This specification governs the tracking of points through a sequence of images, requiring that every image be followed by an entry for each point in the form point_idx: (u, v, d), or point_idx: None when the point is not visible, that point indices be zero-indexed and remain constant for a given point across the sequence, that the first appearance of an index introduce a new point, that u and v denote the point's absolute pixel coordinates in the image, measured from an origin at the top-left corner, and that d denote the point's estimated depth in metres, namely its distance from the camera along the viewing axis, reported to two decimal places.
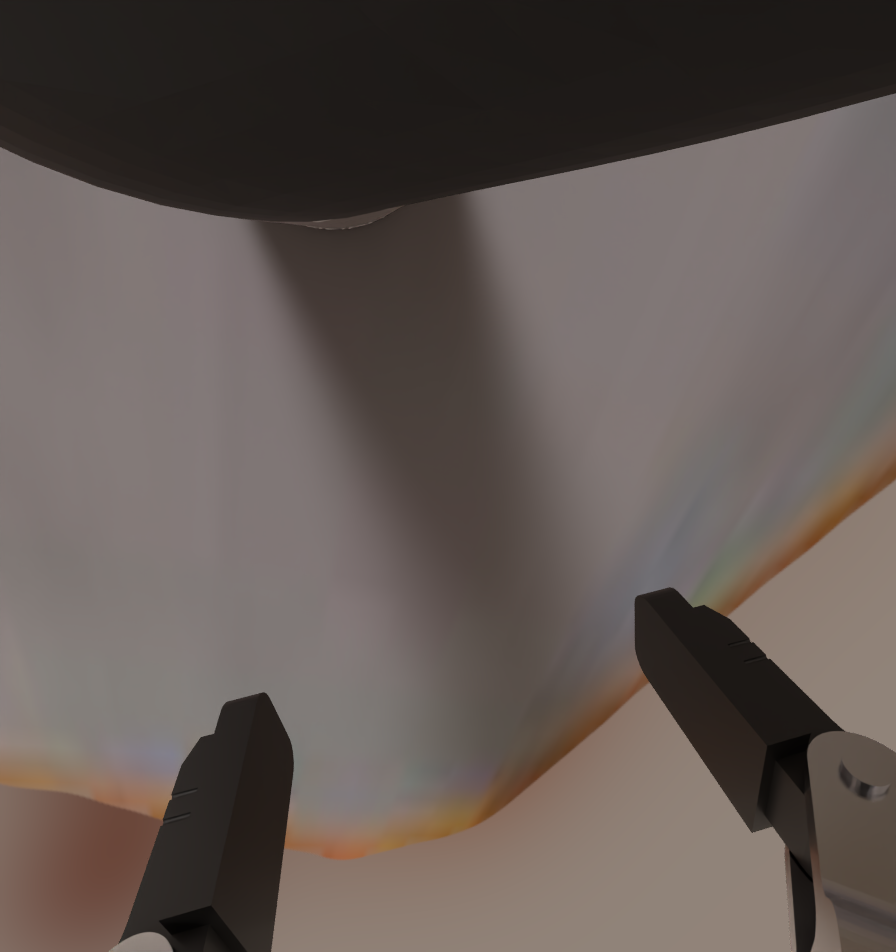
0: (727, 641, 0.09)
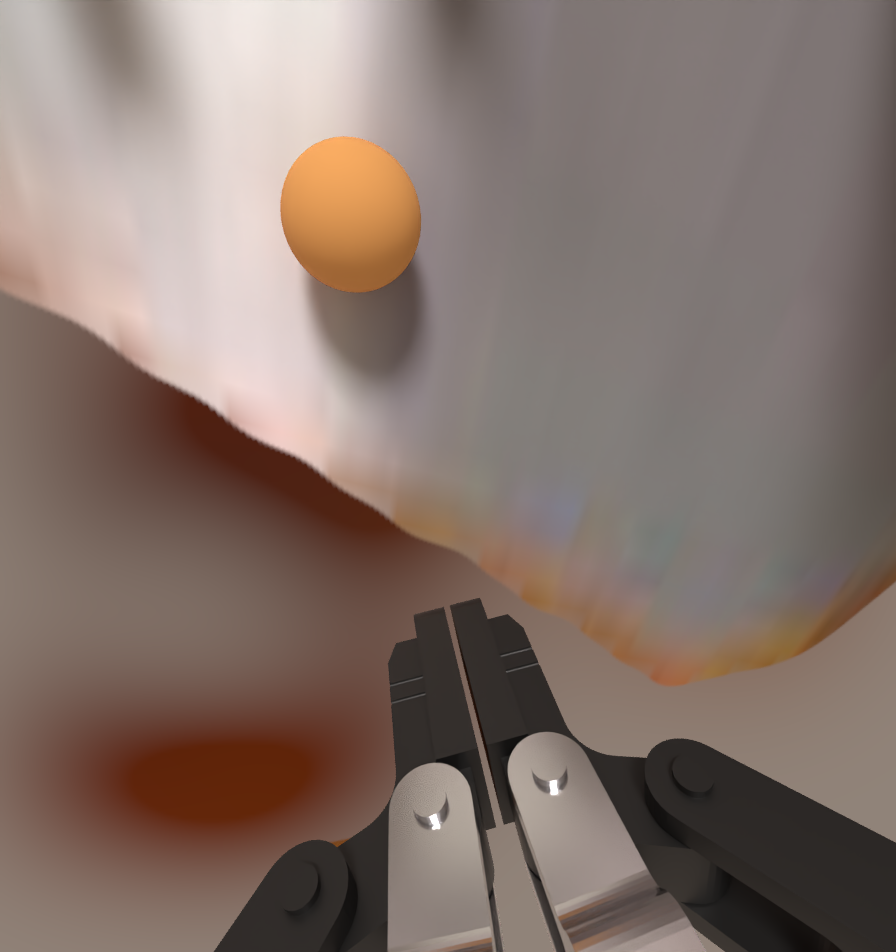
0: (511, 648, 0.10)
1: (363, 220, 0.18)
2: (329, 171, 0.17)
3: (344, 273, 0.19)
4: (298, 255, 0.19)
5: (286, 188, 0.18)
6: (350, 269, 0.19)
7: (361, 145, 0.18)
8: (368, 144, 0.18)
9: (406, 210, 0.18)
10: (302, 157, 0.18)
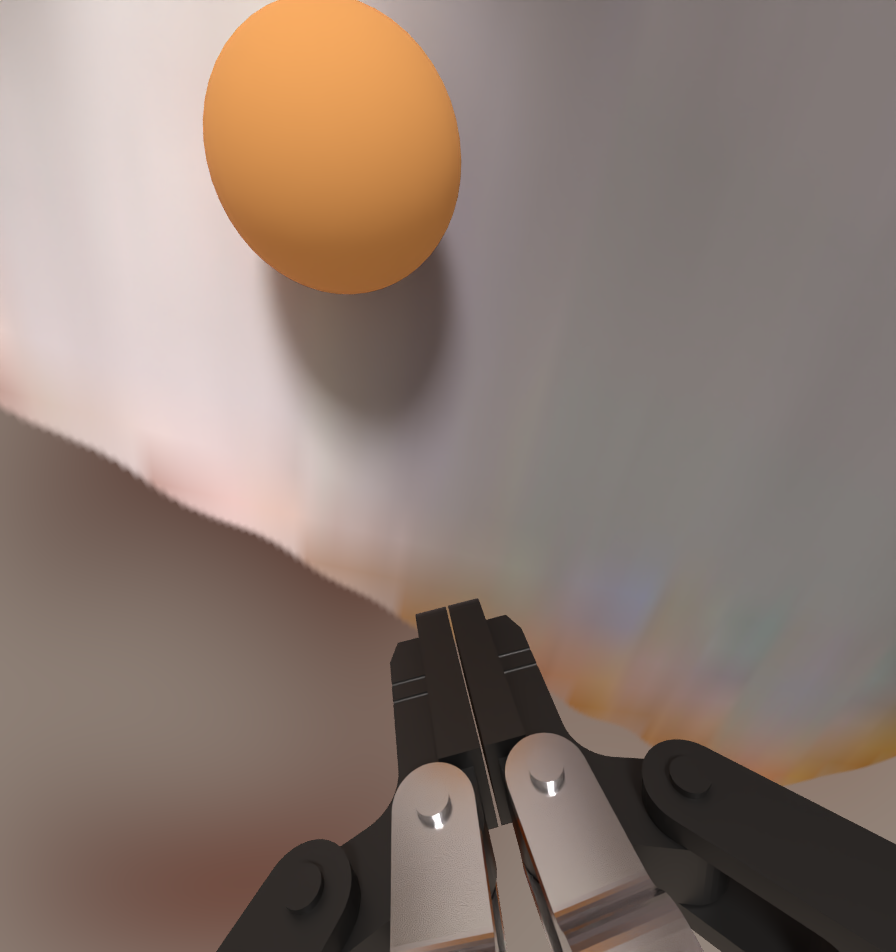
0: (509, 649, 0.10)
1: (357, 153, 0.09)
2: (287, 48, 0.08)
3: (321, 260, 0.10)
4: (238, 225, 0.10)
5: (208, 92, 0.09)
6: (331, 253, 0.10)
7: (355, 5, 0.09)
8: (369, 6, 0.09)
9: (439, 141, 0.10)
10: (238, 28, 0.09)
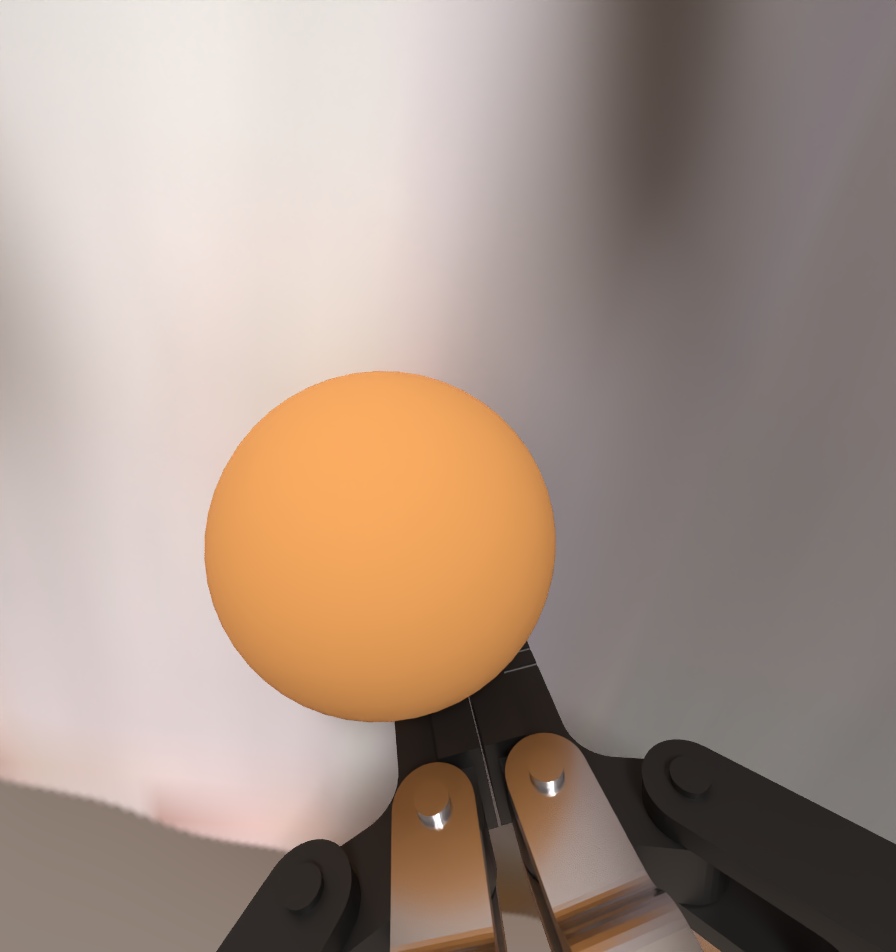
0: None
1: (409, 583, 0.06)
2: (318, 450, 0.06)
3: (346, 708, 0.06)
4: None
5: (217, 485, 0.07)
6: (362, 702, 0.06)
7: (417, 386, 0.07)
8: (435, 384, 0.07)
9: (533, 536, 0.07)
10: (268, 416, 0.07)
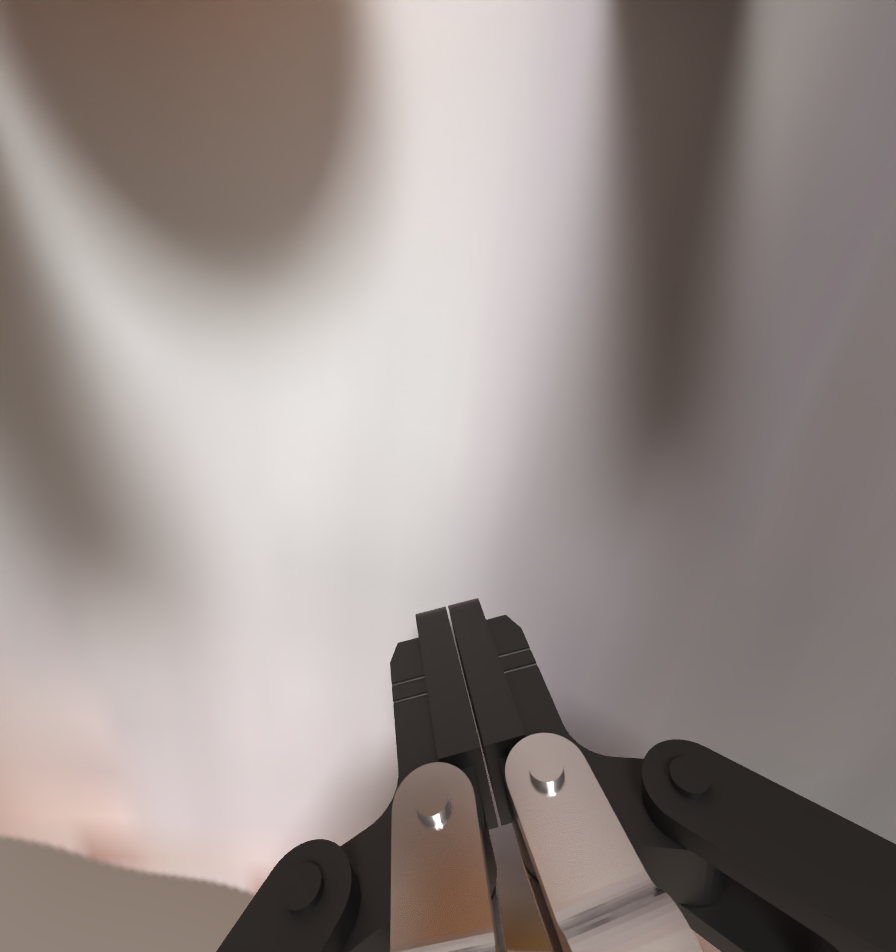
0: (509, 649, 0.10)
1: None
2: None
3: None
4: None
5: None
6: None
7: None
8: None
9: None
10: None
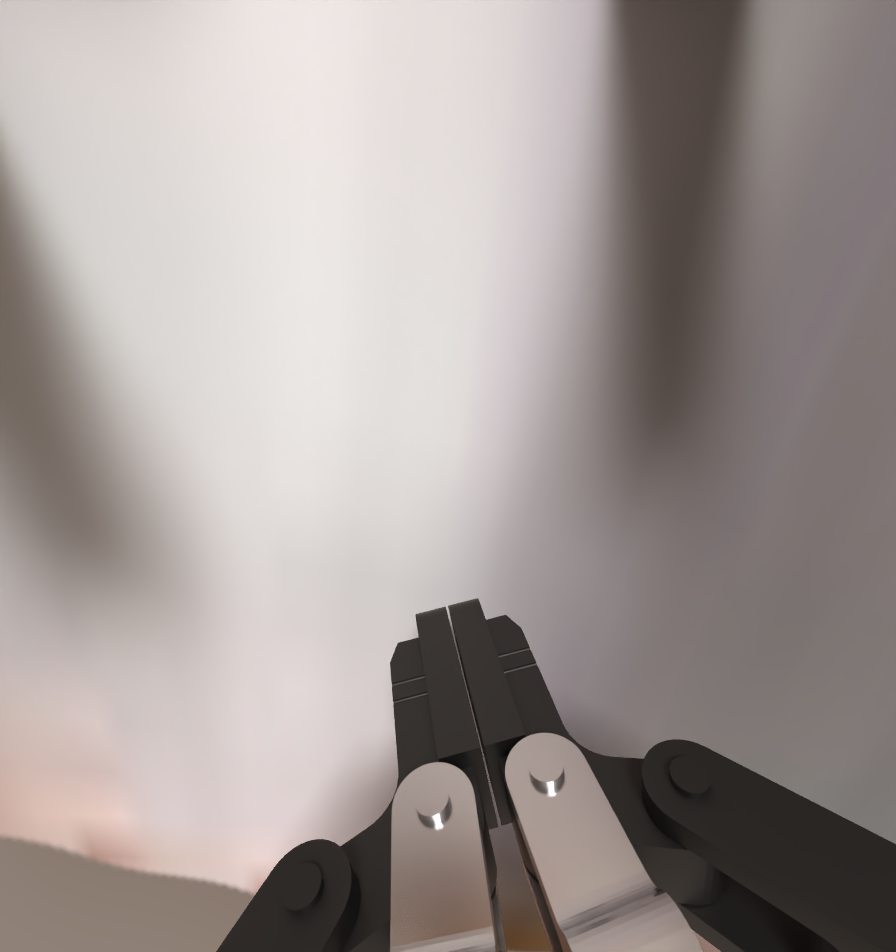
0: (509, 649, 0.10)
1: None
2: None
3: None
4: None
5: None
6: None
7: None
8: None
9: None
10: None
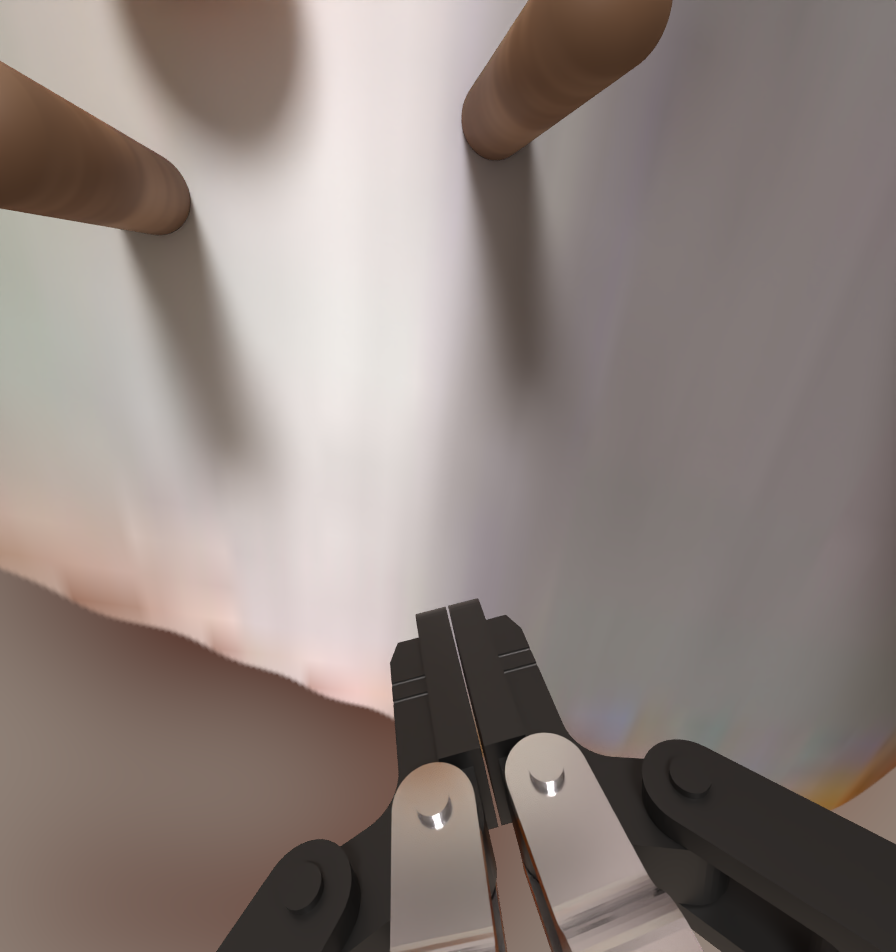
0: (509, 649, 0.10)
1: None
2: None
3: None
4: None
5: None
6: None
7: None
8: None
9: None
10: None
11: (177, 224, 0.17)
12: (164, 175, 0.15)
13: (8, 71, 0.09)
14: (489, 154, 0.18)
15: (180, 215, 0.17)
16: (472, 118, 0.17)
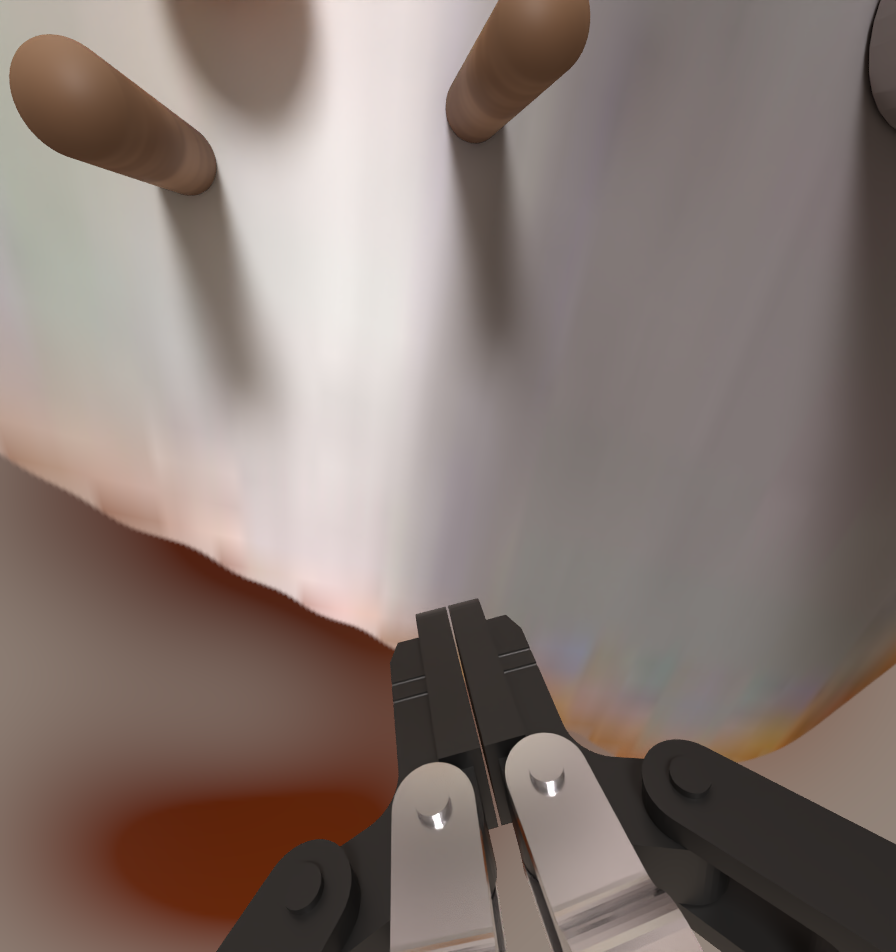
0: (509, 649, 0.10)
1: None
2: None
3: None
4: None
5: None
6: None
7: None
8: None
9: None
10: None
11: (205, 186, 0.21)
12: (198, 144, 0.19)
13: (104, 62, 0.12)
14: (468, 137, 0.21)
15: (208, 179, 0.20)
16: (452, 106, 0.20)
